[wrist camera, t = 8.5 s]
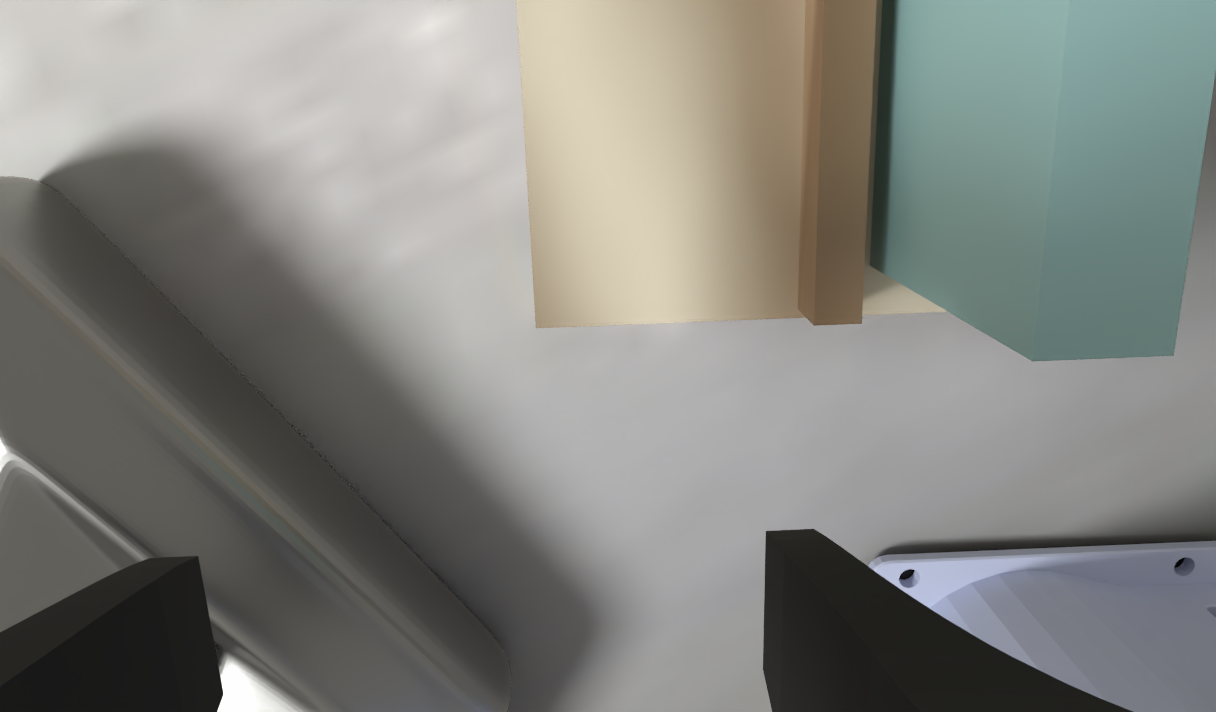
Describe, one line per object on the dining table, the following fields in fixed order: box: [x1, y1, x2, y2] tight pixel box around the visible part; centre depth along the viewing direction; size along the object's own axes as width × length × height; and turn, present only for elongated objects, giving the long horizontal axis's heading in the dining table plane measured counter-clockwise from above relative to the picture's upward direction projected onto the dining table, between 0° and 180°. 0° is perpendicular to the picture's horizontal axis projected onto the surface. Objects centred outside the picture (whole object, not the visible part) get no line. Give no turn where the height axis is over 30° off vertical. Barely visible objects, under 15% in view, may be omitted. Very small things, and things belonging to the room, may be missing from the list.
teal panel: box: [870, 0, 1216, 361], centre depth 15 cm, size 2×8×8 cm, turn 2°
